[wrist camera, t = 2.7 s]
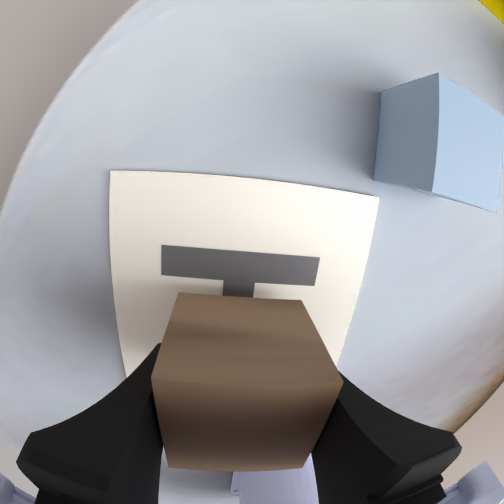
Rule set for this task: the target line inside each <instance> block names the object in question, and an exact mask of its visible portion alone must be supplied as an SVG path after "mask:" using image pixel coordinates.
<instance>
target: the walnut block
mask: <svg viewBox="0 0 504 504" xmlns="http://www.w3.org/2000/svg"><path fill="white" fill-rule="evenodd" d="M151 381H152V387H153V394H154V400H155V405H156V411H157V416H158V421H159V426H160V431H161V436H162V440H163V445H164V449H165V453H166V457H167V461H168V465H169V467H172V468H181V469H191V470H203V471H223V472H257V471H277V470H289V469H299V468H303V466H304V464H305V462H306V461H307V459H308V457H309V455H310V453H311V451H312V449H313V448H314V446H315V444H316V442H317V440H318V438H319V436H320V434H321V432H322V430H323V428H324V425H325V423H326V421H327V419H328V417H329V415H330V413H331V410H332V408H333V406H334V404H335V401H336V399H337V397H338V394H339V392H340V390H341V387H342V385H343V380H342V378H341V376H340V374H339V372H338V370H337V368H336V366H335V364H334V362H333V360H332V358H331V356H330V354H329V352H328V350H327V348H326V346H325V344H324V342H323V340H322V339H321V337H320V335H319V333H318V331H317V329H316V327H315V325H314V323H313V321H312V319H311V317H310V315H309V314H308V312H307V310H306V308H305V306H304V304H303V302H302V300H287V299H267V298H249V297H233V296H219V295H206V294H194V293H182V292H178V295H177V298H176V301H175V304H174V307H173V310H172V313H171V316H170V319H169V322H168V325H167V328H166V331H165V334H164V337H163V340H162V343H161V347H160V350H159V353H158V356H157V359H156V363H155V366H154V369H153V373H152V376H151Z"/></svg>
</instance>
